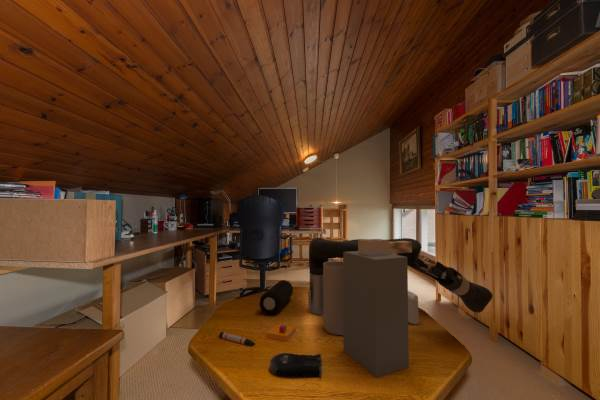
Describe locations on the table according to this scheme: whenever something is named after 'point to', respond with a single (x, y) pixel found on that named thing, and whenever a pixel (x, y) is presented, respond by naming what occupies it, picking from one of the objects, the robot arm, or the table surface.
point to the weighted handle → (383, 247)
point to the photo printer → (413, 308)
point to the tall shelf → (376, 311)
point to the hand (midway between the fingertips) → (425, 262)
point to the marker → (236, 339)
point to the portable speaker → (276, 297)
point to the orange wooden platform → (281, 332)
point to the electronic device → (296, 365)
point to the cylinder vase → (333, 297)
